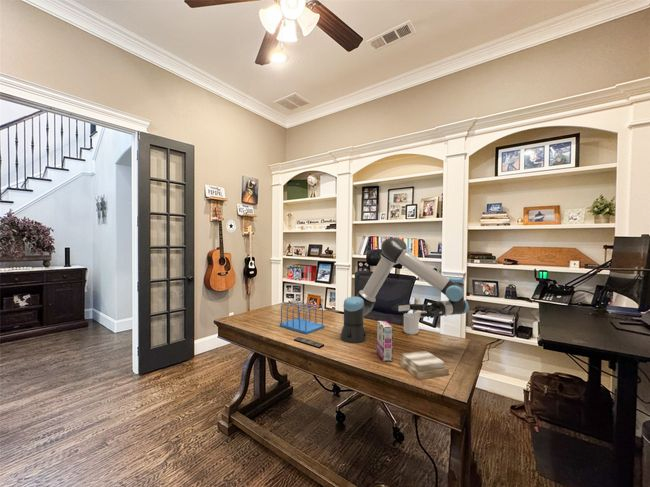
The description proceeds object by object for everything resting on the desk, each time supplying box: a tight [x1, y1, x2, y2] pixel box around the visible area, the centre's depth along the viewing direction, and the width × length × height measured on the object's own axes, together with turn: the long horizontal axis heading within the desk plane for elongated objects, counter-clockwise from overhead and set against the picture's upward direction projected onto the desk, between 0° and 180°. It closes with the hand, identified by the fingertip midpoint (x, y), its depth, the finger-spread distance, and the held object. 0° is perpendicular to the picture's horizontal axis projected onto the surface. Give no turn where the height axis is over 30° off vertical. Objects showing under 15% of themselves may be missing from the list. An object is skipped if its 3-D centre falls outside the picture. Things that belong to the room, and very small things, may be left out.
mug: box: [403, 312, 420, 336], centre depth 172 cm, size 12×9×11 cm
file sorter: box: [279, 300, 325, 335], centre depth 181 cm, size 25×17×15 cm
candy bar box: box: [376, 320, 394, 362], centre depth 135 cm, size 11×5×16 cm, turn 5°
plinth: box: [398, 350, 450, 380], centre depth 122 cm, size 15×15×5 cm
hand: (406, 311), depth 138 cm, fingers open, 13 cm apart
